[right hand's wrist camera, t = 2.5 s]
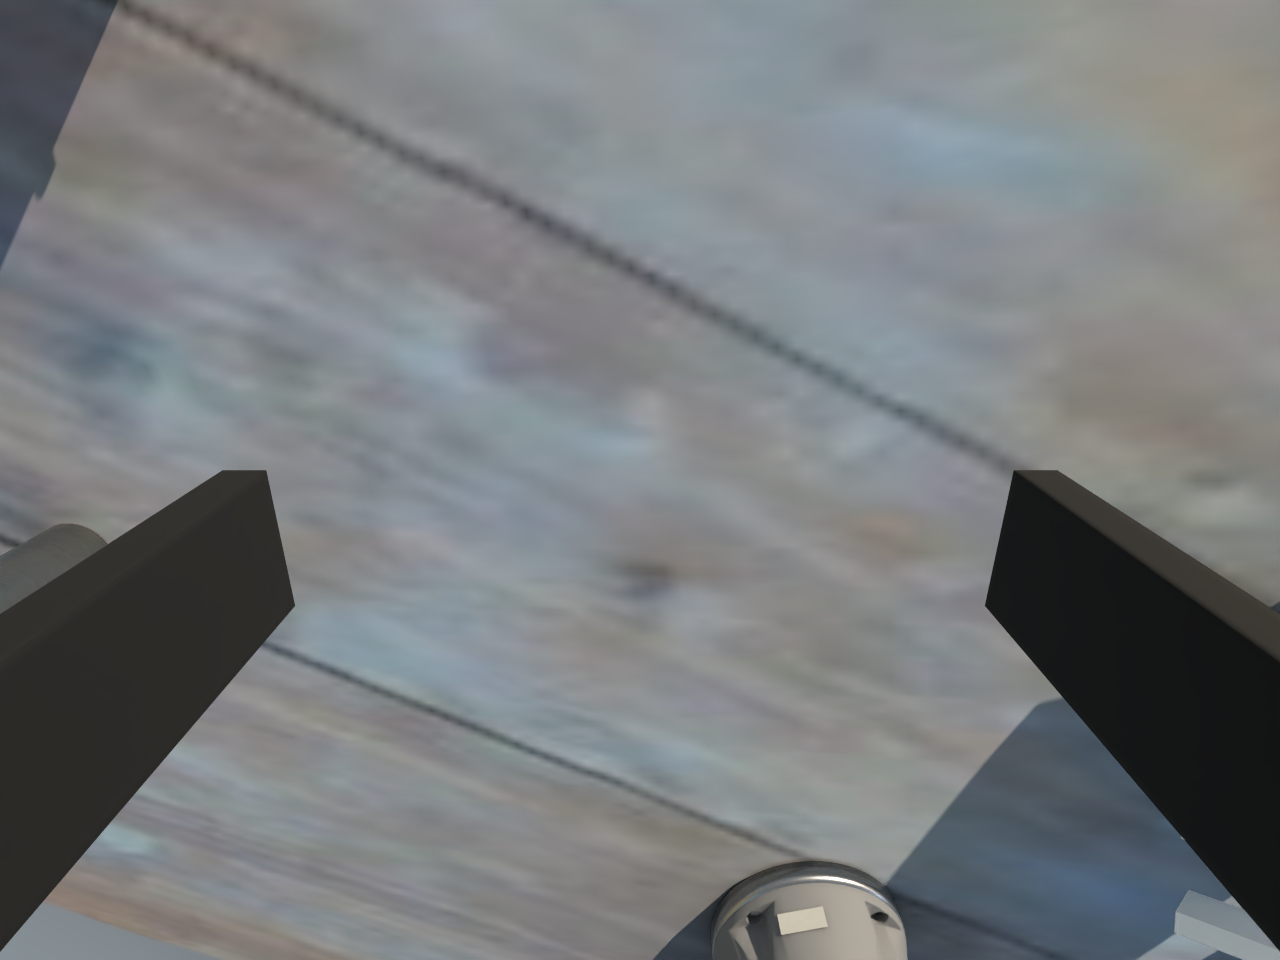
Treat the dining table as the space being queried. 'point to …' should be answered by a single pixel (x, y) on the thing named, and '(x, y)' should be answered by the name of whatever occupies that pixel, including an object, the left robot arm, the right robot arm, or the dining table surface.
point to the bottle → (44, 560)
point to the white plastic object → (1222, 928)
